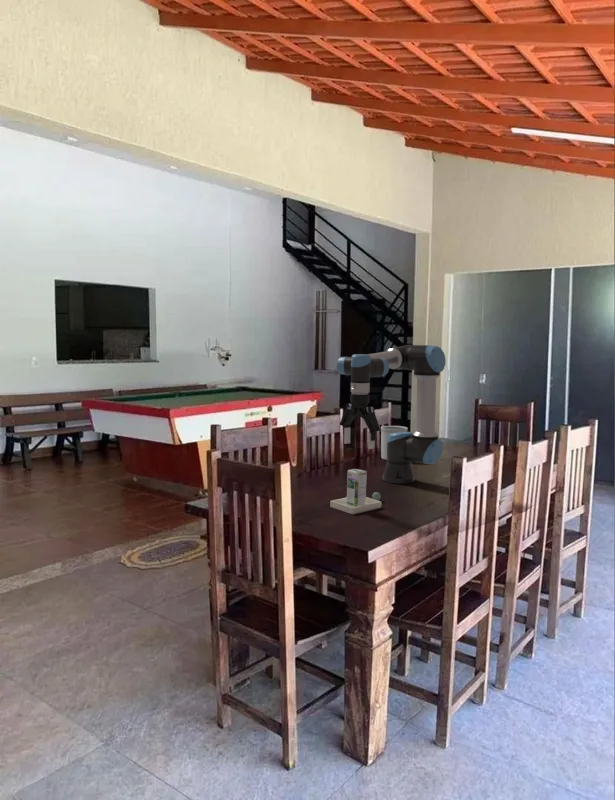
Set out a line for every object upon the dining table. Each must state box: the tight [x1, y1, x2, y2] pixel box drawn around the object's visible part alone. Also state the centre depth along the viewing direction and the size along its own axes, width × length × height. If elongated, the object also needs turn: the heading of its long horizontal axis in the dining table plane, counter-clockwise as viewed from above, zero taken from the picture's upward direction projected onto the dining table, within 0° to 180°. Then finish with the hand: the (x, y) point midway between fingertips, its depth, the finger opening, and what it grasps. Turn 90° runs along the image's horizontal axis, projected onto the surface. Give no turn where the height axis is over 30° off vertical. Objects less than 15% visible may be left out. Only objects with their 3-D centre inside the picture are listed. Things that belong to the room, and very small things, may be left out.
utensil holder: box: [380, 425, 409, 461], centre depth 350 cm, size 15×15×18 cm
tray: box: [329, 496, 382, 515], centre depth 252 cm, size 16×13×2 cm
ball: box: [371, 491, 382, 501], centre depth 262 cm, size 4×4×4 cm
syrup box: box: [346, 468, 368, 507], centre depth 251 cm, size 6×6×14 cm
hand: (358, 446), depth 251 cm, fingers open, 13 cm apart
